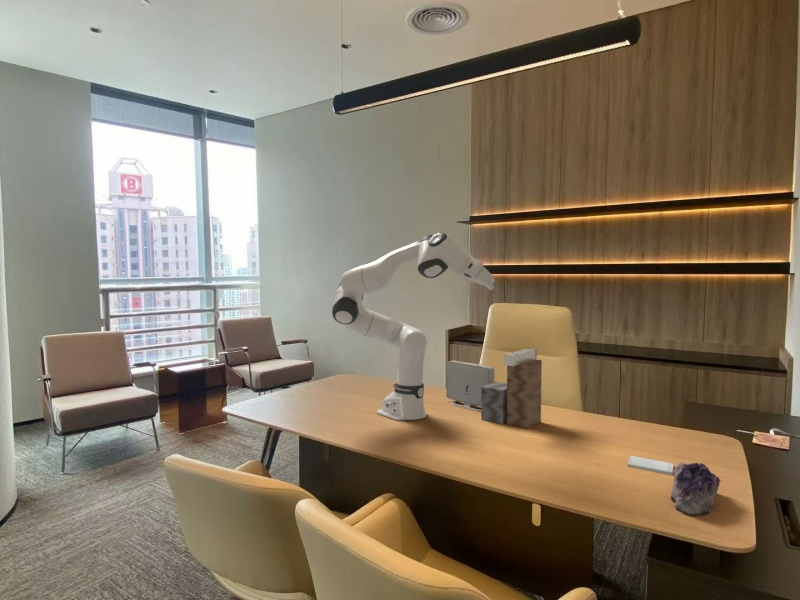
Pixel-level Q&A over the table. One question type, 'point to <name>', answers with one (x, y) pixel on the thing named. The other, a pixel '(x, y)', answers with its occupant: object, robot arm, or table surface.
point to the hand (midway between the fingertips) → (484, 285)
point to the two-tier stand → (515, 396)
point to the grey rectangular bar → (520, 357)
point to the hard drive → (651, 465)
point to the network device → (467, 382)
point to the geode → (694, 489)
